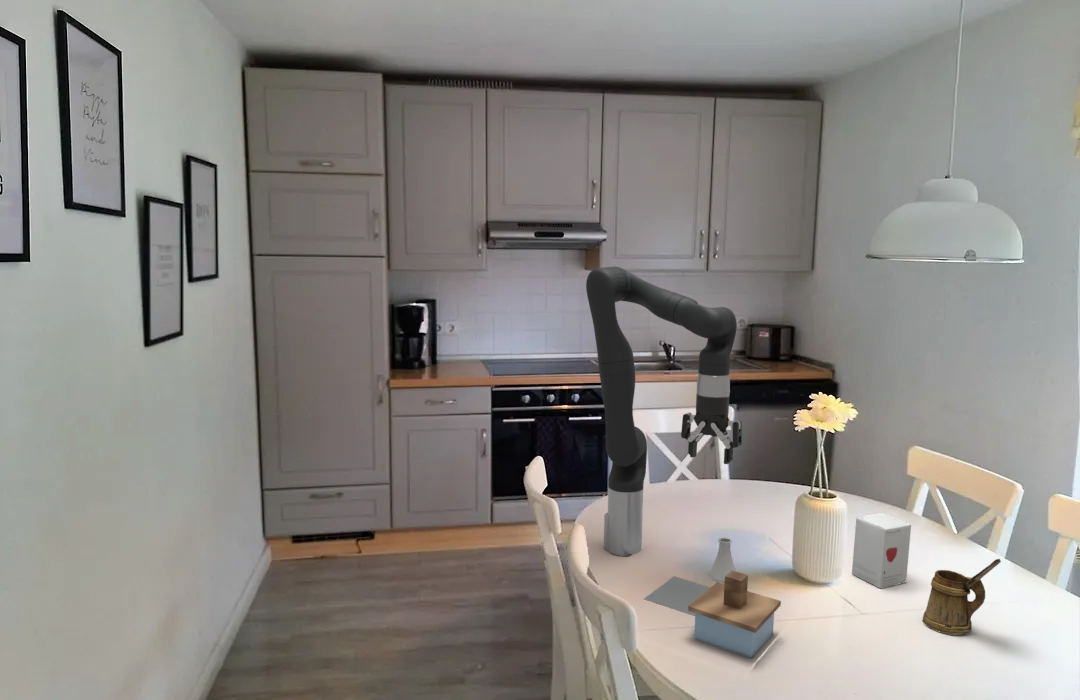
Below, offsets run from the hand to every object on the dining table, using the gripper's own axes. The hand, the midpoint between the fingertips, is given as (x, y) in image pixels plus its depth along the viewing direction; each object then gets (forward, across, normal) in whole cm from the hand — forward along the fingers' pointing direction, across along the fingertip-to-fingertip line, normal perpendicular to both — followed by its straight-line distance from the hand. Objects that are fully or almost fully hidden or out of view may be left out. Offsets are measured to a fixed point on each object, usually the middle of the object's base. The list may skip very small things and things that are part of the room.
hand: (710, 460), depth 171 cm
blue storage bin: (+30, +16, -21) cm, 40 cm away
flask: (+30, +3, +4) cm, 31 cm away
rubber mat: (+30, +1, -11) cm, 32 cm away
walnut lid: (+24, +16, -21) cm, 35 cm away
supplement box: (+30, +33, +28) cm, 53 cm away
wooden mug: (+30, +52, +12) cm, 61 cm away
